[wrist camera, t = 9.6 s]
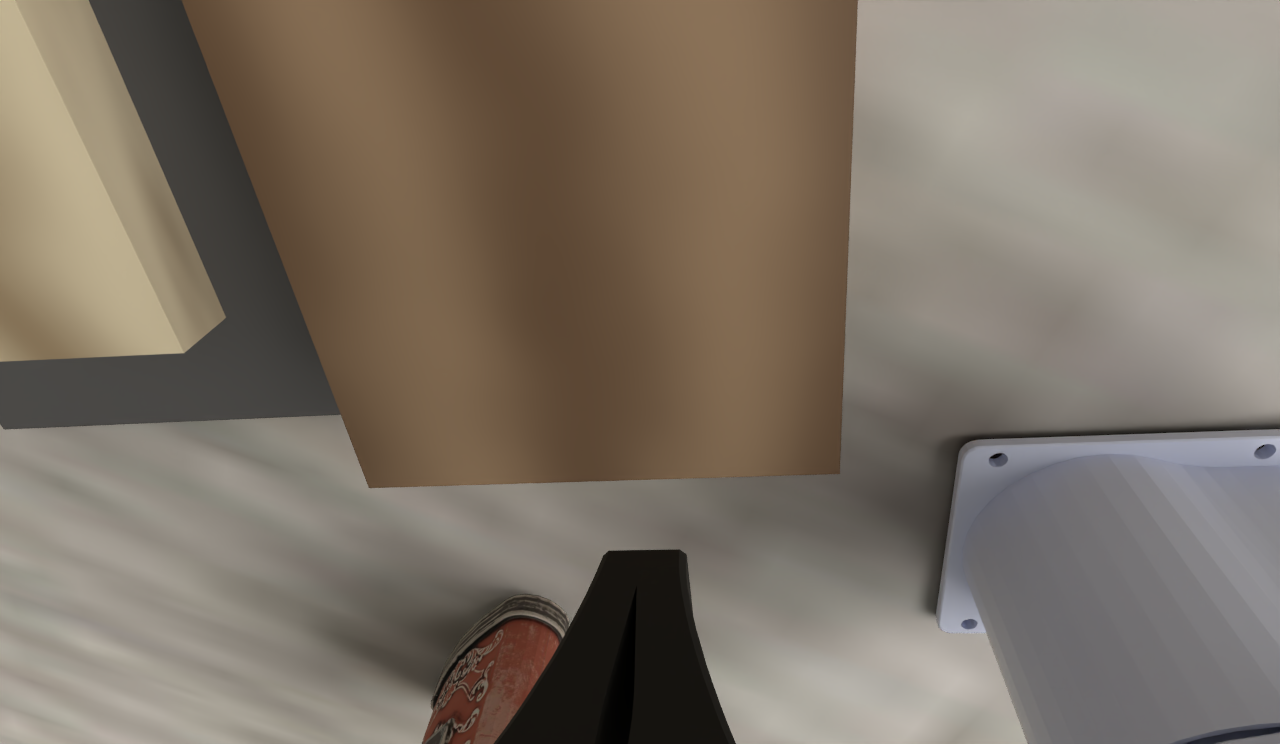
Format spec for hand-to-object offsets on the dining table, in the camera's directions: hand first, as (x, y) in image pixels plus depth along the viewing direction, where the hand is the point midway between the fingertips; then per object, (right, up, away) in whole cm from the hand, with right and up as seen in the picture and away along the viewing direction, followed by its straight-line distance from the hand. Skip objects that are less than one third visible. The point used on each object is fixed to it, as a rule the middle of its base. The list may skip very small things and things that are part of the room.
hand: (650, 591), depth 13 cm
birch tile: (-16, +8, +5) cm, 18 cm away
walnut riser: (-2, +10, +5) cm, 11 cm away
